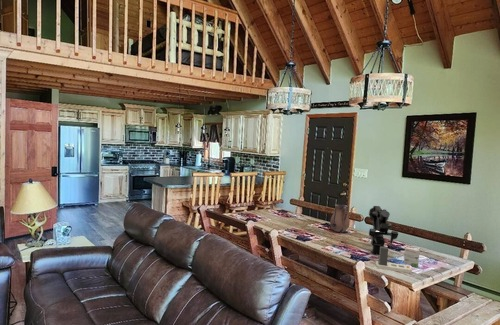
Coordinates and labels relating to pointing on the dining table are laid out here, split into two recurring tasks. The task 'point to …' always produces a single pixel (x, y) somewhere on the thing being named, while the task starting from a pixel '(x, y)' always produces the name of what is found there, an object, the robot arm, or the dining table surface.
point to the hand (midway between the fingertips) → (384, 244)
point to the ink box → (411, 256)
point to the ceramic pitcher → (340, 218)
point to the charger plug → (383, 256)
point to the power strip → (394, 267)
